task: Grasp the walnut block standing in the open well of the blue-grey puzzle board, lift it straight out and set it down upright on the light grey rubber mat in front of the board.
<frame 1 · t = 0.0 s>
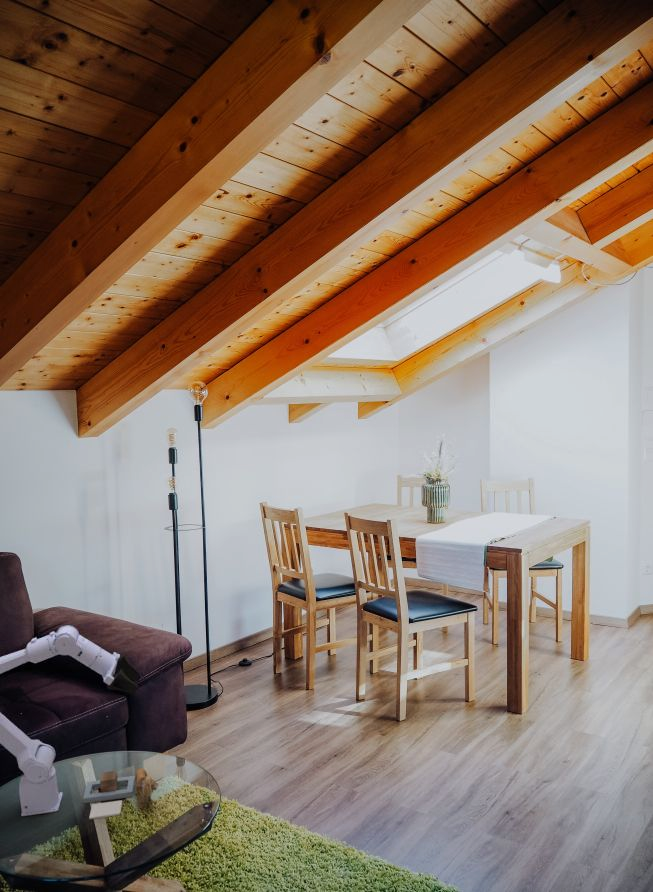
hand: (137, 683, 207), 32 cm above the table, tool tilted 50°, fingers open, 7 cm apart
lion figurine: (146, 798, 210), on the table
walnut block: (109, 783, 213), in the puzzle board
puzzle board: (110, 791, 214), on the table
rubber mat: (106, 810, 206), on the table
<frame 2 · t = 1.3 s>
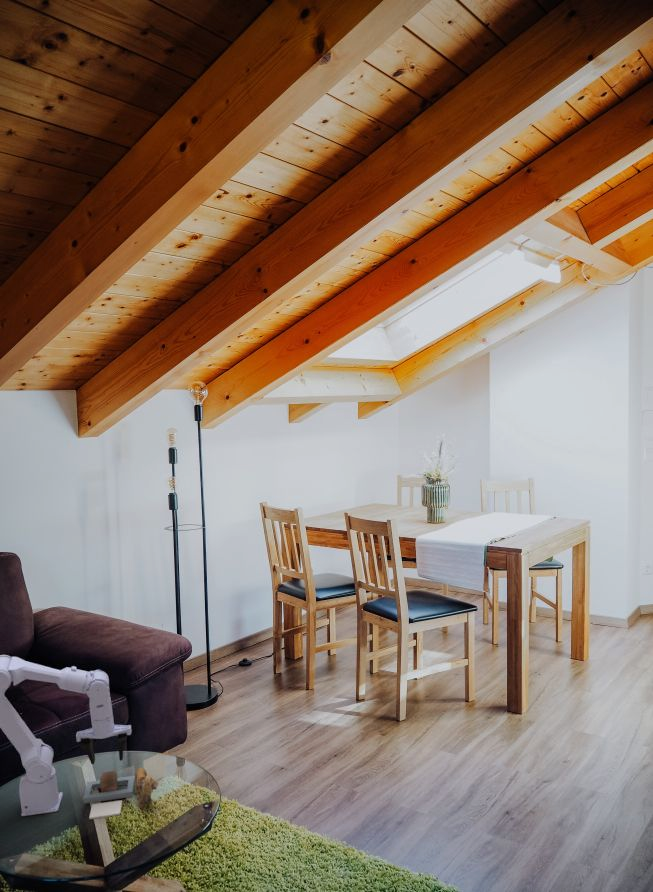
hand: (107, 760, 212), 10 cm above the table, tool pointing down, fingers open, 7 cm apart
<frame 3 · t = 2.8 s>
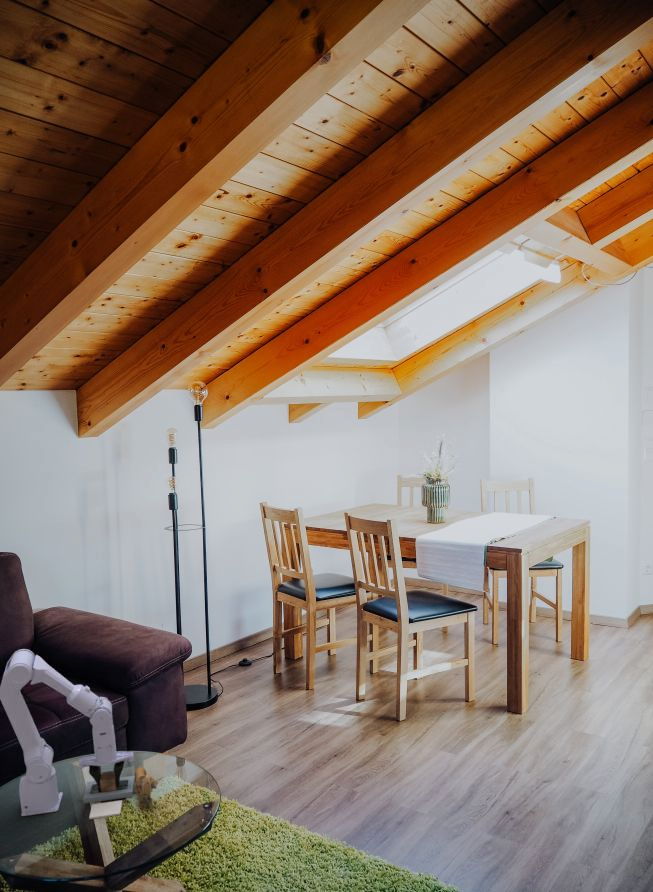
hand: (109, 787, 213), 1 cm above the table, tool pointing down, fingers closed on walnut block, 4 cm apart
walnut block: (109, 783, 213), in the puzzle board, touching gripper
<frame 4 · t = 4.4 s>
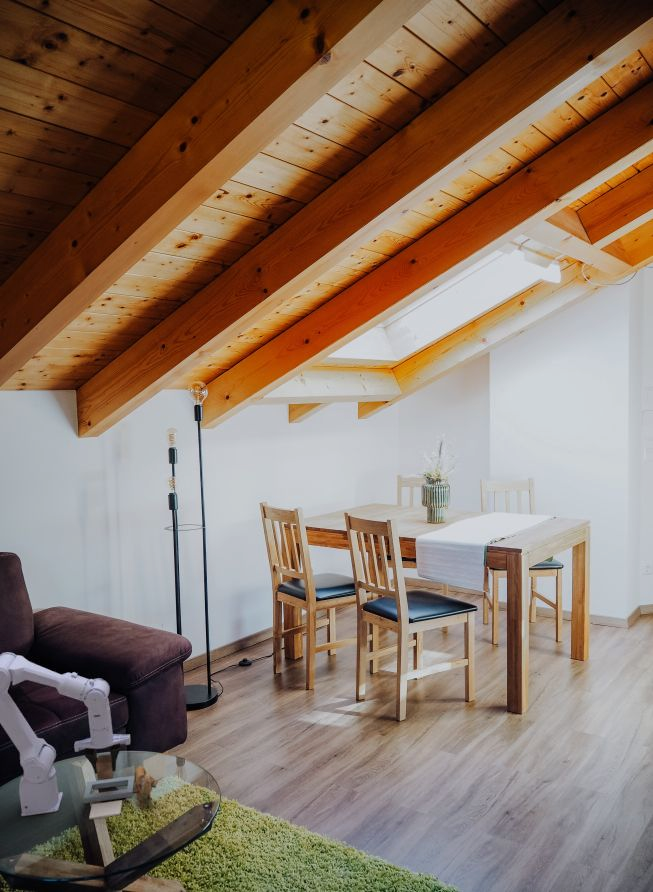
hand: (105, 770, 209), 8 cm above the table, tool pointing down, fingers closed on walnut block, 4 cm apart
walnut block: (105, 766, 209), point 9 cm above the table, touching gripper
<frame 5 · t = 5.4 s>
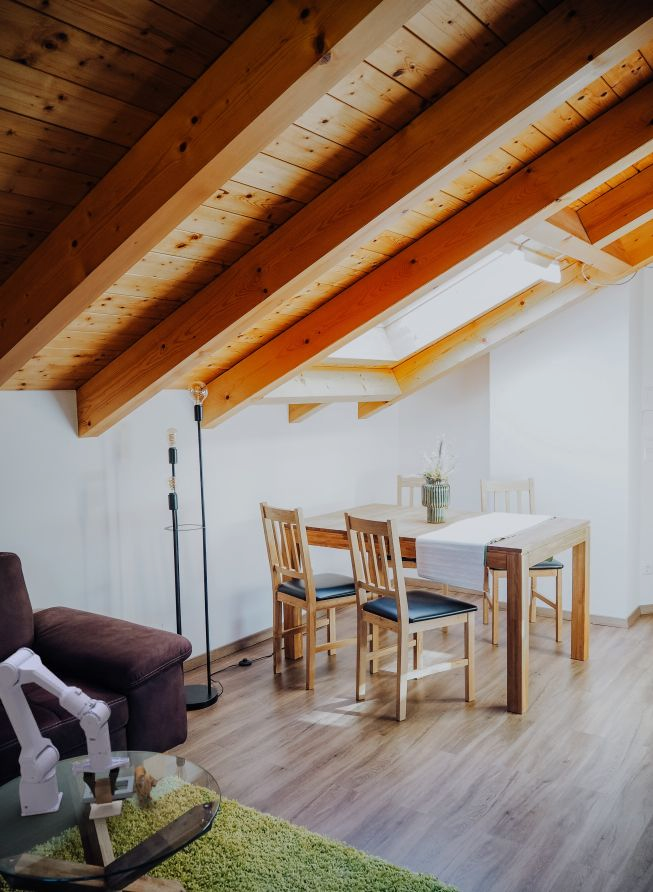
hand: (104, 794, 205), 5 cm above the table, tool pointing down, fingers closed on walnut block, 4 cm apart
walnut block: (104, 790, 205), point 6 cm above the table, touching gripper
when the fingers open (3 cm above the table, at t = 6.2 s): walnut block stays where it is, resting on rubber mat.
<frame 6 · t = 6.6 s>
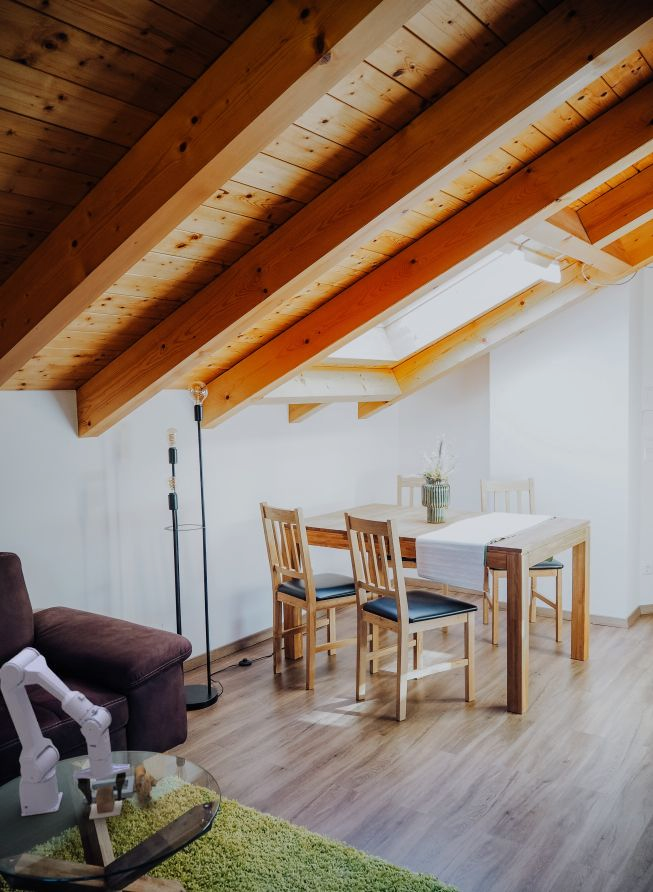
hand: (105, 800, 205), 3 cm above the table, tool pointing down, fingers open, 7 cm apart
lion figurine: (145, 795, 212), on the table, touching puzzle board
walnut block: (105, 799, 205), on the rubber mat
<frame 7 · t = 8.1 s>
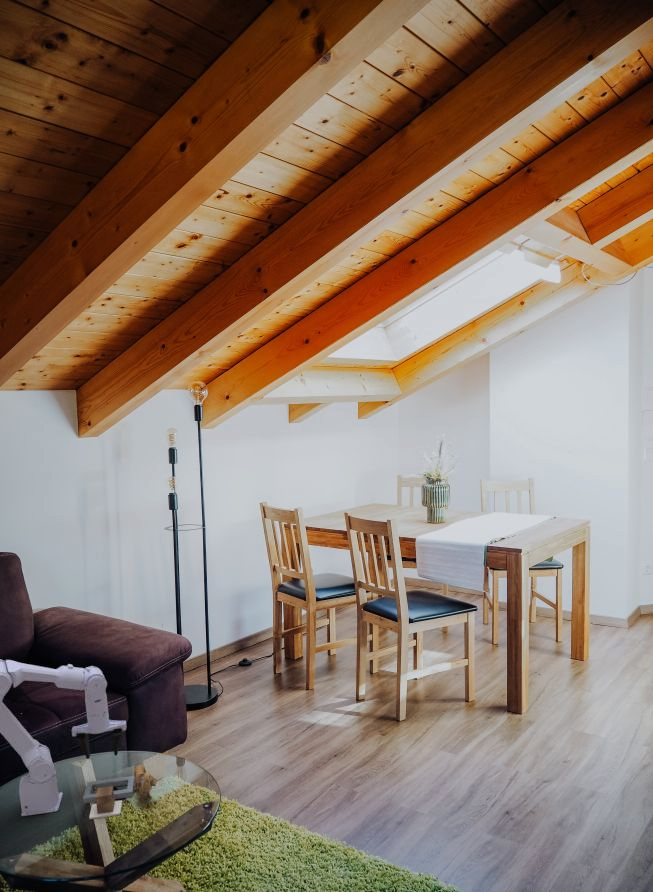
hand: (102, 755, 215), 9 cm above the table, tool pointing down, fingers open, 7 cm apart
lion figurine: (145, 794, 212), on the table
everything else where it was.
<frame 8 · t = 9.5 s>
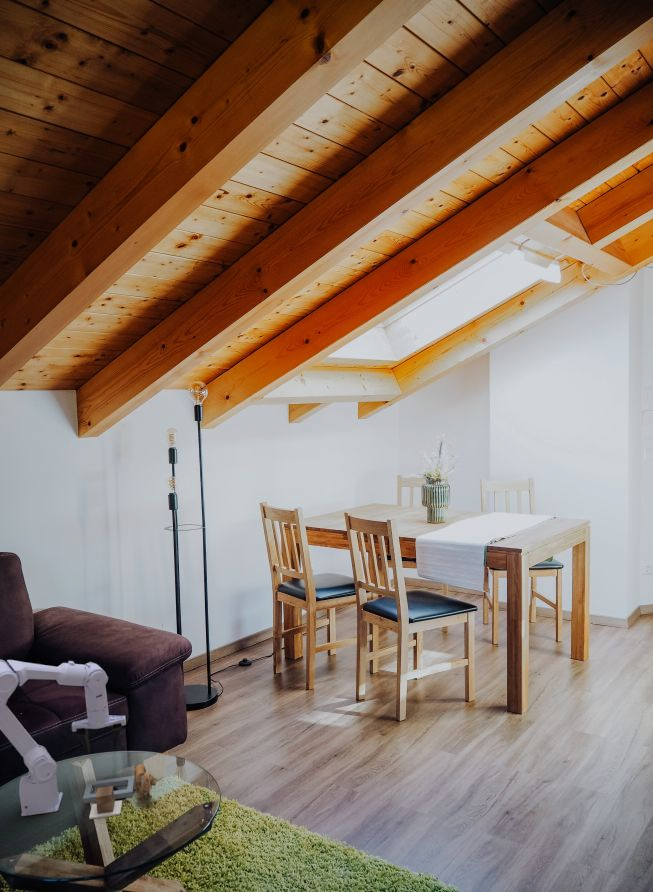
hand: (102, 750, 218), 9 cm above the table, tool pointing down, fingers open, 7 cm apart
at the end: walnut block 0.2 cm from the target spot, point 3.0 cm above the table; walnut block tilted 0°; the gripper is holding nothing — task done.
